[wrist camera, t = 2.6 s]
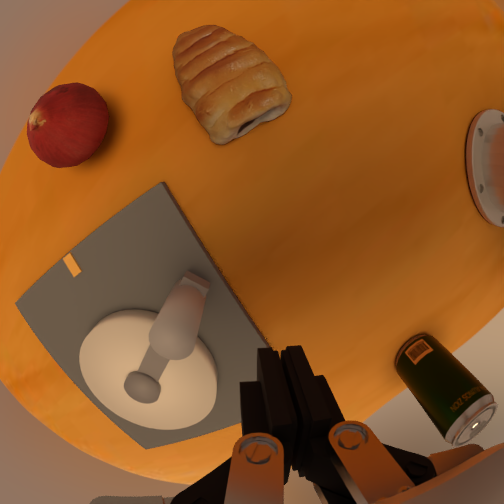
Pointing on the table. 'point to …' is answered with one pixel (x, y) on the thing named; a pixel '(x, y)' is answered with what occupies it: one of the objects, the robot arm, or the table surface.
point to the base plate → (144, 303)
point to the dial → (154, 361)
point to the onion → (67, 125)
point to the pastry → (228, 82)
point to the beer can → (445, 389)
